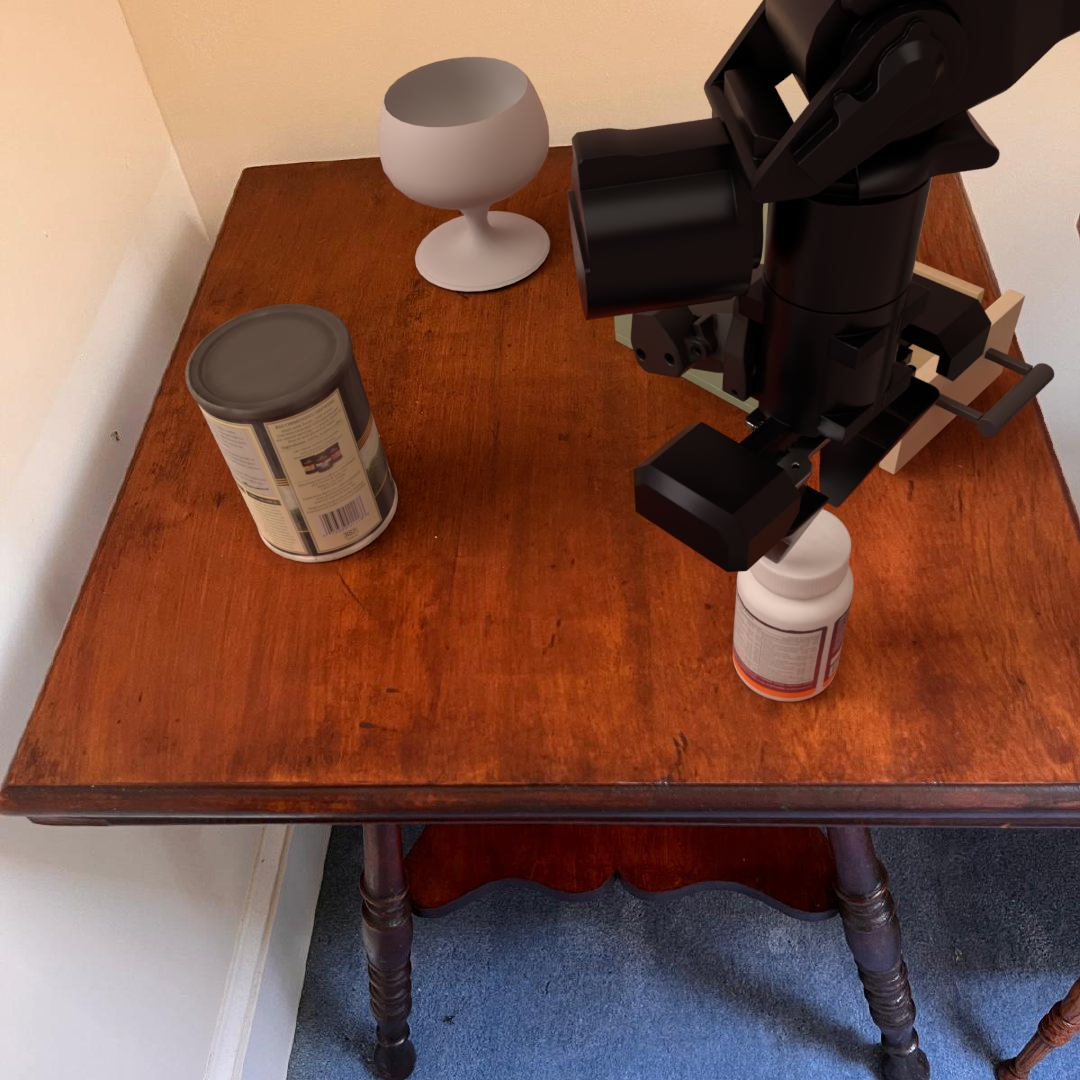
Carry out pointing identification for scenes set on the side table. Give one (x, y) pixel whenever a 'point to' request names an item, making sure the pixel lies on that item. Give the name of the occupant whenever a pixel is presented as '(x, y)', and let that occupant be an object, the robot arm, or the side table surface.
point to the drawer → (971, 376)
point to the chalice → (468, 166)
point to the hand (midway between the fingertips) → (801, 529)
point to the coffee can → (296, 429)
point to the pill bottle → (795, 614)
